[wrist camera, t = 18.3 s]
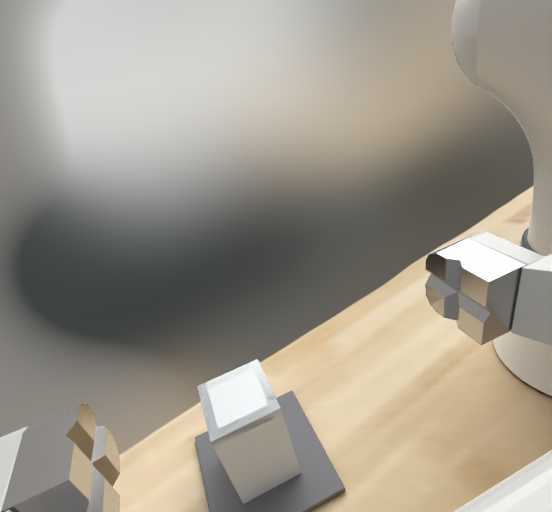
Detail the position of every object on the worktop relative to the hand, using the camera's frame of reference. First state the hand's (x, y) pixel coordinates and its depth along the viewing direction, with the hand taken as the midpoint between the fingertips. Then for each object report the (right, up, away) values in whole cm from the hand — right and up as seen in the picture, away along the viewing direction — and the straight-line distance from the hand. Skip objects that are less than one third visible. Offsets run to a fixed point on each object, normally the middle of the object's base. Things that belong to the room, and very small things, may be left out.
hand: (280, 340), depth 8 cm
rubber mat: (-1, -19, +28) cm, 34 cm away
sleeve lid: (-1, -19, +28) cm, 34 cm away
